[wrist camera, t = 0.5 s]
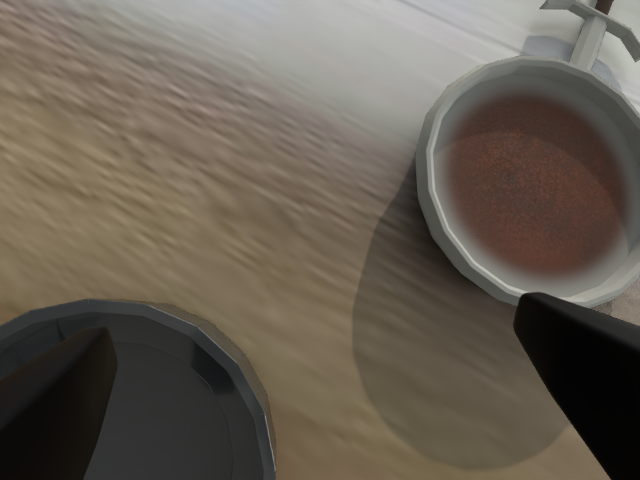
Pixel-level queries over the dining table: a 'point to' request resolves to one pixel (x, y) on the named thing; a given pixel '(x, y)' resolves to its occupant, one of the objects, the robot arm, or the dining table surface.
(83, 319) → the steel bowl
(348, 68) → the dining table surface
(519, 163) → the frying pan
